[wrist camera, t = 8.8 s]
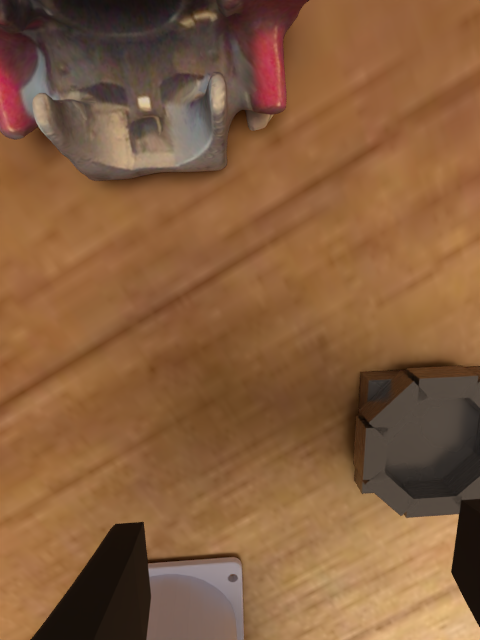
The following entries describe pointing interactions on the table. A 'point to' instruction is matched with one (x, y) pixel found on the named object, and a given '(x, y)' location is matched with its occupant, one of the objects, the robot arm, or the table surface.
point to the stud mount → (419, 438)
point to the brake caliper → (141, 78)
